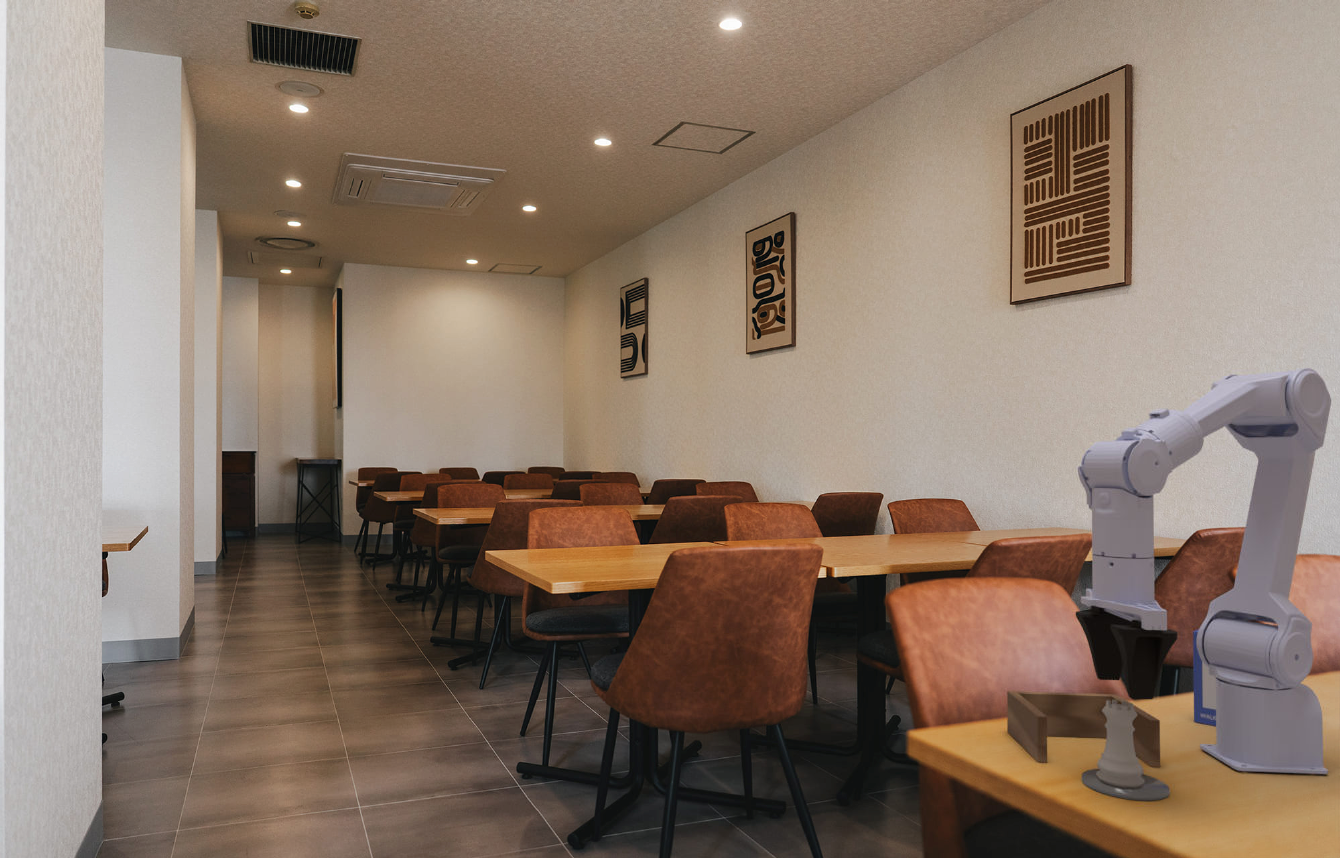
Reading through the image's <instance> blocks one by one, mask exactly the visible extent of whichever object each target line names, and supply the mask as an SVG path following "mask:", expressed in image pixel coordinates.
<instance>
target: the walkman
mask: <svg viewBox="0 0 1340 858" xmlns="http://www.w3.org/2000/svg"><path fill="white" fill-rule="evenodd" d="M1198 631H1199V628H1198V629H1196V630H1193V631H1192V649H1193V652H1192V653H1193V655H1192V657H1193V658H1192V659H1193V660H1192V661H1193V663H1192V664H1193V665H1192V667H1193V723H1197V724H1198V723H1199V724H1204V725H1209V726H1213V727H1216V677H1215V676H1212V675H1209V667H1207V666H1206V665H1205V664H1204V663H1203V662H1202V660H1201V658H1200V656H1199V653H1198V650H1197V634H1198Z"/></svg>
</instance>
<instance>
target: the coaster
mask: <svg viewBox="0 0 1340 858" xmlns="http://www.w3.org/2000/svg"><path fill="white" fill-rule="evenodd" d="M1099 770H1100V769H1099V768H1092V769H1087V770H1086V771H1083V772H1082V773H1081V782H1082V783H1083V785H1085V786H1086V787H1088V788H1089V789H1091V790H1093V791H1095V792H1097V793H1099V794H1103V795H1107V796H1110V797H1115V798H1118V799H1124V800H1131V801H1144V802H1148V801H1149V802H1150V801H1159V800H1160V801H1161V800H1164V799H1167V798H1168V797H1169V796H1170V787H1169V785H1168V784H1167V783H1165V782H1164V781H1162V780H1160V779H1158V778H1155V777H1153V776H1151V775H1148V774H1144V773H1143V774H1142V775H1141V777H1142V778H1143V779H1144V783H1143V784H1142V785H1141V786H1140V787H1138V788H1133V789H1130V788H1120V787H1114V786H1111V785H1108V784H1105V783H1103V782H1102V781H1101V780H1100V779H1099V778H1098V776H1097V775H1096V773H1097V771H1099Z"/></svg>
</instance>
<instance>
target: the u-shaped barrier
mask: <svg viewBox="0 0 1340 858" xmlns="http://www.w3.org/2000/svg"><path fill="white" fill-rule="evenodd" d="M1006 697H1007V699H1006V701H1007V702H1006V703H1007V705H1006V708H1007V710H1006V711H1007V716H1006V717H1007V734H1009V735H1010V736H1011V737H1012V738H1013V740H1015V741H1016V742H1017V743H1018V744H1019V746H1021V747H1022V748H1023V750H1024V751H1026V752H1027V753H1028V754H1029V755H1030V756H1031V757H1032V758H1033V759H1034V760H1035V761H1036V762H1037V763H1045V764H1046V763H1048V737H1063V738H1064V737H1065V738H1067V737H1068V738H1091V739H1092V738H1093V739H1106V738H1107V728H1106V727H1105V724H1106V723H1107V717H1106V716H1105V714H1104V713H1103V712H1102V709H1103V708H1104V707H1105V706H1106V701H1107V700H1110V701H1111V704H1112V700H1117V704H1121V705H1122V700H1123V701H1127V706H1128V703H1131V702H1129V701H1128V700H1127V699H1125V698H1123V697H1121V696H1120V695H1118V694H1114V693H1113V694H1111V693H1109V694H1108V693H1106V694H1104V693H1083V692H1081V693H1078V692H1077V693H1076V692H1051V691H1050V692H1049V691H1047V692H1046V691H1019V690H1018V691H1015V690H1014V691H1013V690H1007V696H1006ZM1133 709H1134V710H1135V712H1136V713H1137V716H1136V718H1135V719H1134V720H1133V722H1132V725H1133V727H1134V728H1135V730H1134V732H1133V743H1134V749H1135V754H1136V757H1137V758H1138V759H1139V760H1142V762H1144V763H1145V764H1146V765H1148V766H1150V767H1152V768H1153V767H1154V768H1155V767H1157V768H1160V767H1161V723H1160V722H1161V721H1160V720H1159V719H1158V718H1157V717H1155V716H1153V715H1151V714H1150V713H1148V712H1146V711H1145V710H1143V709H1142V708H1140V707H1138V706H1136V705H1135V704H1133Z"/></svg>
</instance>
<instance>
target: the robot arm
mask: <svg viewBox="0 0 1340 858" xmlns="http://www.w3.org/2000/svg"><path fill="white" fill-rule="evenodd" d="M1331 405H1332V398H1331V395H1330V393H1329V390H1328V388H1327V385H1326V383H1325V380H1324V379H1323V377H1321V375H1320V374H1319V373H1318V372H1317V371H1316V370H1315V369H1313V368H1310V367H1304V368H1298V369H1295V370H1286V371H1275V372H1274V371H1273V372H1263V373H1252V374H1228V375H1227V374H1226V375H1225V376H1223V377H1222V378H1221V379H1218V380H1215V381H1213V382H1212V384H1211V388H1210V390H1209V391H1208V392H1207V393H1205V394H1204V395H1203V396H1201V397H1200V398H1198V399H1197V400H1195V401H1194V402H1193V403H1191V404H1190V405H1188V406H1187V407H1186V408H1184V409H1183V410H1182V411H1181V410H1177V409H1169V408H1156V409H1153V410H1152V411H1150V412H1149V413H1148V416H1149V419H1147V420H1145V421H1143V422H1141V423H1139V425H1136V426H1135V427H1126V428H1125V429H1123V430H1122V431H1121V432H1120V433H1121V435H1120V436H1118V437H1117V438H1116V439H1114V440H1100V441H1097V442H1094V443H1093V444H1092V445H1091V446H1090V447H1088V448H1087V450H1086V451H1085V452H1084V454H1083V456H1082V459H1081V463H1080V466H1077V472H1078V473H1077V474H1078V478H1079V480H1080V483H1081V485H1082V487H1083V488H1084V491H1085V494H1086V505H1088V509H1089V510H1090V511H1091V533H1092V534H1091V551H1092V552H1091V555H1092V556H1091V558H1092V559H1091V561H1092V564H1091V565H1092V566H1091V567H1092V569H1091V570H1092V573H1091V575H1092V588H1085V595H1084V596H1082V595H1081V597H1080V603H1081V604H1083V605H1085V606H1086V607H1088V608H1089V609H1088V610H1087V611H1086V610H1085V611H1084V610H1082V611H1081V610H1077V611H1075V617H1076V619H1077V620H1078V623H1079V625H1080V626H1081V629H1082V630H1083V633H1084V635H1085V637H1086V641H1087V644H1088V646H1089V650H1090V655H1091V659H1092V664H1093V668H1094V672H1095V674H1096V678H1097V679H1098V680H1099V681H1121V680H1120V678H1121V677H1122V672H1123V673H1124V674H1123V675H1124V683H1125V688H1126V693H1127V695H1128V697H1129V698H1130V699H1131V700H1132V699H1133V700H1154V696H1155V693H1156V690H1157V686H1158V682H1159V678H1160V674H1161V670H1162V667H1163V664H1164V662H1165V660H1166V658H1167V656H1168V653H1169V652H1170V650H1171V649H1172V647H1173V646H1174V644H1175V643H1176V642H1177V640H1178V632H1177V631H1175V630H1173V629H1170V628H1168V610H1166V609H1164V608H1162V607H1161V606H1160V605H1159V602H1158V601H1157V600H1156V599H1155V539H1154V538H1155V532H1154V531H1155V529H1154V528H1155V527H1154V523H1155V522H1154V521H1155V520H1154V519H1155V518H1154V517H1155V516H1154V515H1155V513H1154V511H1155V510H1154V509H1155V507H1154V505H1155V503H1154V495H1156V494H1160V493H1161V492H1162V490H1163V489H1164V487H1165V485H1166V483H1167V480H1168V477H1169V475H1170V474H1171V473H1173V471H1174V470H1175V469H1177V468H1178V467H1180V466H1182V465H1183V464H1184V463H1186V462H1187V461H1189V460H1191V459H1192V458H1194V457H1196V456H1197V455H1198V454H1199V453H1200V452H1201V451H1202V449H1203V447H1204V442H1205V440H1204V439H1205V438H1206V437H1207V436H1210V435H1212V434H1214V433H1215V432H1217V431H1219V430H1221V429H1223V428H1226V429H1227V431H1228V432H1229V433H1230V434H1231V436H1232V437H1233V438H1234V439H1235V440H1236V441H1237V443H1238V444H1239V445H1240V446H1241V447H1242V449H1245V450H1247V451H1250V452H1252V453H1254V454H1255V456H1256V458H1257V466H1256V471H1255V476H1254V477H1255V478H1254V482H1253V486H1252V492H1251V498H1250V503H1249V508H1248V513H1247V518H1246V522H1245V528H1244V533H1243V538H1242V543H1241V549H1240V554H1239V558H1238V563H1237V568H1236V575H1235V578H1234V579H1235V580H1234V585H1233V588H1232V589H1230V590H1229V591H1227V592H1224V593H1223V594H1221V595H1219V596H1217V597H1216V598H1214V599H1213V600H1211V601H1210V602H1209V606H1208V611H1207V614H1206V617H1205V618H1204V620H1203V622H1202V623H1201V625H1200V627H1199V628H1198V629H1199V631H1198V634H1197V650H1198V653H1199V656H1200V658H1201V660H1202V662H1203V663H1204V664H1205V665H1206V666H1207V667H1209V675H1212V676H1215V677H1216V726H1215V727H1216V728H1215V730H1216V731H1215V733H1216V734H1215V735H1216V736H1215V737H1216V738H1215V739H1216V740H1215V741H1216V742H1215V743H1216V744H1211V743H1210V744H1209V743H1200V744H1199V748H1200V749H1201V750H1202V751H1204V752H1206V754H1207V753H1208V754H1209V755H1211V756H1212V757H1214V758H1216V759H1217V760H1219V761H1220V762H1222V763H1224V764H1225V765H1227V766H1228V767H1230V768H1232V769H1234V770H1235V771H1241V772H1259V773H1260V772H1261V773H1263V772H1264V773H1285V774H1288V773H1289V774H1292V773H1293V774H1312V775H1313V774H1314V775H1327V774H1328V773H1329V769H1327V768H1326V767H1324V733H1323V732H1324V729H1323V711H1322V710H1323V709H1322V706H1321V703H1320V701H1319V698H1318V696H1317V694H1316V693H1315V691H1314V690H1313V689H1312V688H1311V687H1309V686H1308V685H1306V684H1304V683H1302V682H1304V681H1305V680H1306V678H1307V677H1308V675H1309V674H1310V673H1311V670H1312V667H1313V661H1314V651H1313V646H1312V630H1313V628H1312V627H1313V623H1312V622H1311V620H1310V619H1309V618H1308V617H1307V616H1306V615H1305V614H1304V613H1303V612H1302V611H1301V610H1300V609H1299V608H1297V607H1296V605H1295V604H1294V603H1292V602H1291V601H1290V599H1289V598H1290V593H1291V588H1292V581H1293V575H1294V573H1295V572H1294V571H1295V566H1296V560H1297V554H1298V551H1299V550H1298V548H1299V545H1300V539H1301V532H1302V528H1303V522H1304V517H1305V511H1306V508H1307V507H1306V506H1307V501H1308V496H1309V489H1310V484H1311V480H1312V479H1311V478H1312V474H1313V469H1314V462H1315V456H1316V451H1317V450H1320V448H1322V447H1323V446H1324V443H1325V437H1326V433H1327V432H1326V431H1327V429H1328V428H1327V427H1328V423H1329V417H1330V411H1331ZM1256 621H1257V622H1256ZM1268 623H1269V624H1268Z"/></svg>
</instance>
